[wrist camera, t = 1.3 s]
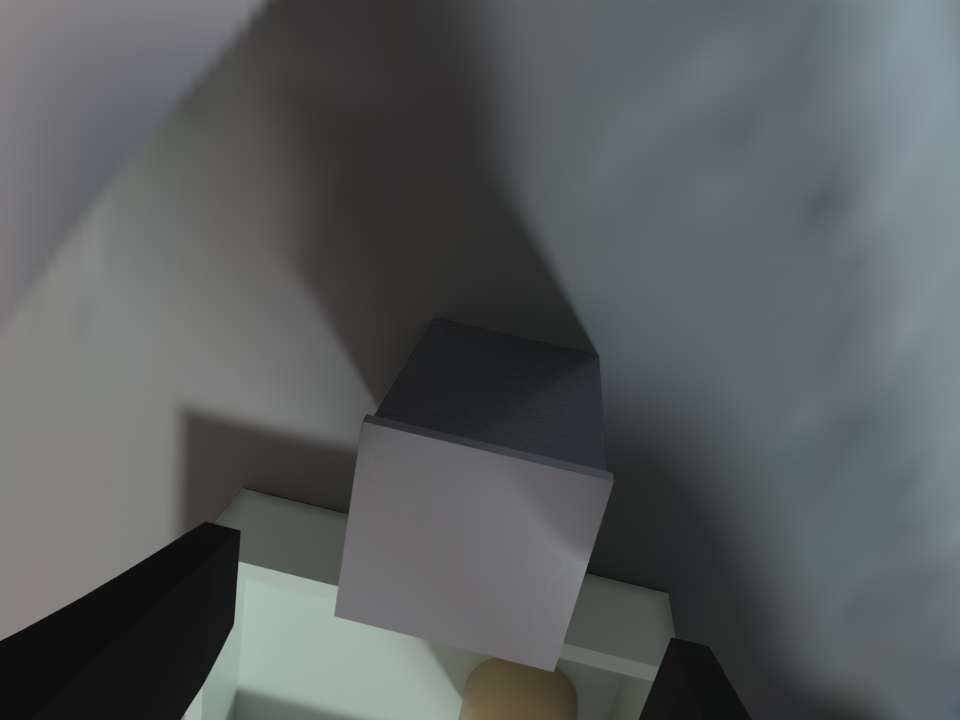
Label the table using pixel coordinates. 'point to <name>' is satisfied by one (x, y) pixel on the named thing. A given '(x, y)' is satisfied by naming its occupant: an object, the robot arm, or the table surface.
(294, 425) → the table surface
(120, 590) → the robot arm
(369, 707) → the crate
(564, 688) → the jar
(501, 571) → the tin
